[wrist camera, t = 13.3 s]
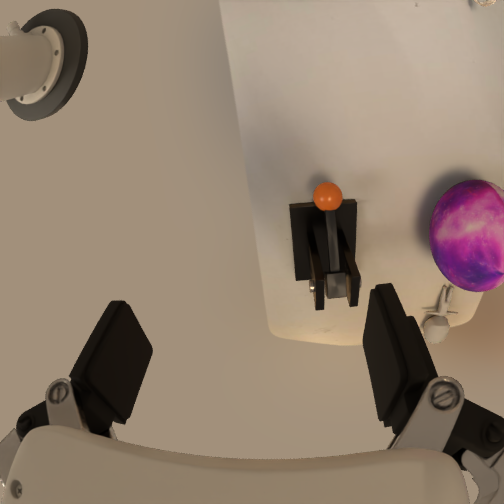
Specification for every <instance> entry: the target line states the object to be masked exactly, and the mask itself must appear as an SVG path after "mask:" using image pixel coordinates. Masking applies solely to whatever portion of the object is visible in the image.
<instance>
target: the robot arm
mask: <svg viewBox="0 0 504 504" xmlns="http://www.w3.org/2000/svg"><path fill="white" fill-rule="evenodd" d="M7 31H8V33H9V36H0V102H2V101H5V100H9V99H13V98H15V99H16V100H17V101H18V102H20V103H22V104H32V103H36V102H38V101H40V100H42V99H43V98H44V97H46V96H47V95H48V94H49V92H50V91H51V90H52V89H53V87H54V85H55V84H56V82H57V80H58V78H59V75H60V73H61V70H62V66H63V61H64V43H63V39H62V36H61V34H60V33H59V32H58V30H57V29H55V28H54V27H50V26H39V27H36V28H34V29H32V30H31V31H29V32H28V33H24V32H23V31H22V30H20V28H19V25H18V23H17V22H16V21H13V22H11V23H10V24H9V25H8V26H7ZM363 348H364V352H365V356H366V360H367V365H368V369H369V374H370V379H371V383H372V388H373V393H374V398H375V404H376V409H377V414H378V419H379V421H383V422H384V427H389V426H392V430H393V433H394V434H395V436H394V437H393V439H392V441H391V442H390V444H389V445H388V447H387V449H386V450H379V451H371V452H363V453H355V454H348V455H339V456H330V457H316V458H301V459H236V458H220V457H209V456H200V455H192V454H184V453H177V452H171V451H165V450H160V449H154V448H149V447H144V446H139V445H135V444H130V443H126V442H122V441H118V439H117V437H116V435H115V433H114V430H113V427H112V422H113V421H114V422H116V423H120V424H125V423H126V420H127V419H128V418H130V416H131V413H132V410H133V407H134V404H135V401H136V398H137V395H138V392H139V390H140V387H141V384H142V381H143V378H144V376H145V373H146V370H147V367H148V364H149V361H150V359H151V356H152V353H153V348H152V345H151V344H150V342H149V340H148V338H147V337H146V335H145V333H144V331H143V330H142V328H141V326H140V324H139V322H138V320H137V318H136V317H135V315H134V313H133V311H132V309H131V307H130V305H129V304H127V303H126V302H125V301H111V302H110V303H109V305H108V306H107V308H106V310H105V311H104V313H103V315H102V316H101V318H100V320H99V321H98V323H97V325H96V327H95V328H94V330H93V332H92V334H91V335H90V337H89V339H88V341H87V343H86V344H85V346H84V348H83V350H82V352H81V354H80V355H79V357H78V359H77V361H76V363H75V365H74V367H73V369H72V371H71V373H70V375H69V377H70V378H71V381H70V382H69V381H68V380H67V379H64V378H60V379H57V380H55V381H54V382H52V383H51V384H50V386H49V388H48V389H47V391H46V398H45V399H46V400H45V401H43V402H42V403H40V404H38V405H36V406H34V407H32V408H31V409H29V410H27V411H25V412H24V413H23V414H21V416H20V417H19V419H18V421H17V425H16V429H17V430H16V429H15V428H14V429H13V430H12V431H11V432H10V433H9V434H8V435H7V436H6V437H5V438H4V439H3V440H2V441H1V442H0V479H1V482H2V484H3V486H4V488H5V489H4V493H3V497H2V501H1V504H470V502H469V496H468V491H467V487H466V483H465V480H464V476H463V474H462V471H461V470H464V471H467V470H468V471H469V472H470V473H471V475H472V476H473V478H472V479H473V480H474V481H475V483H476V484H477V486H478V488H479V494H478V497H477V500H476V501H475V502H474V504H504V418H502V417H501V416H499V415H497V414H495V413H493V412H491V411H489V410H487V409H485V408H483V407H481V406H479V405H477V404H475V403H473V402H471V401H469V400H467V399H465V398H464V390H463V388H462V386H461V384H460V383H459V382H458V381H457V380H455V379H454V378H452V377H448V376H440V377H438V375H437V372H436V369H435V366H434V364H433V361H432V359H431V356H430V353H429V351H428V348H427V346H426V343H425V341H424V338H423V336H422V334H421V331H420V329H419V327H418V324H417V322H416V320H415V318H414V317H413V316H406V314H405V311H404V309H403V307H402V304H401V302H400V300H399V298H398V295H397V293H396V291H395V289H394V287H393V285H392V284H391V283H386V284H378V285H376V286H375V289H371V291H370V298H369V305H368V311H367V317H366V323H365V329H364V334H363Z"/></svg>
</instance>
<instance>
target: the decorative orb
mask: <svg viewBox="0 0 504 504" xmlns="http://www.w3.org/2000/svg"><path fill="white" fill-rule="evenodd" d="M429 241H430V247H431V252H432V255H433V258H434V260H435V263H436V265H437V266H438V268H439V270H440V271H441V272H442V274H443V275H444V276H445V277H446V278H447V279H448V280H449V281H450V282H451V283H453V284H454V285H456V286H457V287H459V288H462V289H464V290H468V291H473V292H482V291H488V290H491V289H494V288H496V287H498V286H500V285H501V284H503V283H504V190H503V189H501V188H500V187H498V186H497V185H495V184H493V183H490V182H487V181H483V180H468V181H464V182H461V183H459V184H457V185H455V186H453V187H452V188H450V189H449V190H448V191H447V192H446V193H445V194H444V195H443V196H442V197H441V198H440V200H439V201H438V203H437V205H436V207H435V209H434V211H433V214H432V217H431V221H430V228H429Z"/></svg>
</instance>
